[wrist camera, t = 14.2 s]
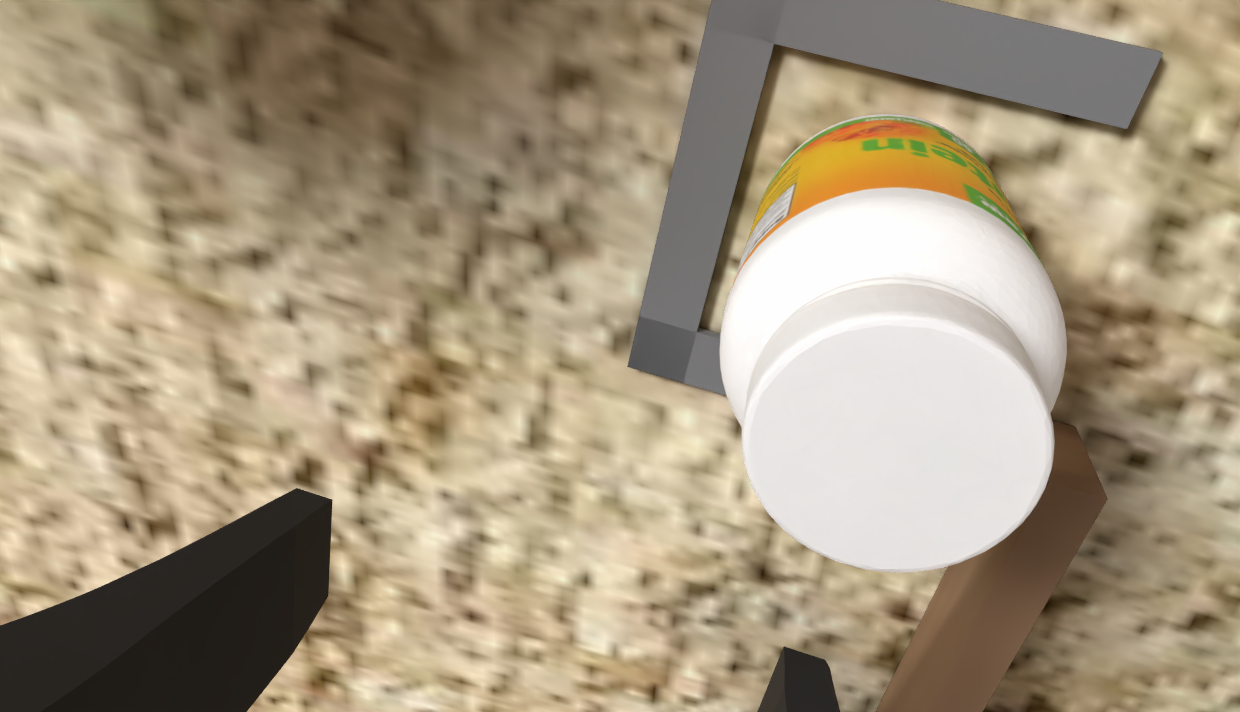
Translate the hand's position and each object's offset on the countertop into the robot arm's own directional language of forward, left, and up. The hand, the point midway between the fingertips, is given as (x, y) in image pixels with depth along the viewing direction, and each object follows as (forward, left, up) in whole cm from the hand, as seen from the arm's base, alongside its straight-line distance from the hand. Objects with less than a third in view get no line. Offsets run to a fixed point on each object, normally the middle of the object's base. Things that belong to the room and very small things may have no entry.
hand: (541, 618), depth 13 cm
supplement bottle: (-4, -4, -11) cm, 12 cm away
